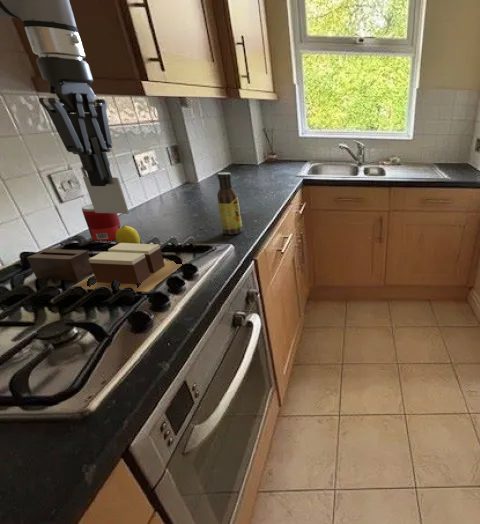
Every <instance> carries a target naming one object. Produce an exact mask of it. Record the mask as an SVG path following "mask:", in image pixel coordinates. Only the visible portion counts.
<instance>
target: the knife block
mask: <svg viewBox="0 0 480 524" xmlns="http://www.w3.org/2000/svg"><path fill="white" fill-rule="evenodd" d="M90 258H91V257H90V253H89V252H88V250H83V249H82V250H80V249H61V248H60V249H59V248H58V249H56V248H45V249H43V250H40V251H39V252H37V253H34V254H32V255H29V256H27V257H26V259H27V261H28V263H29V265H30V268H31V270H32V272H33V274H34V276H35V279H37V280H54V281H56V280H57V281H76V282H78V281H80V280H83V278H84V279H85V277H88V276H89V275H91V274H93V270H92V267H91V265H90V262H89V259H90Z"/></svg>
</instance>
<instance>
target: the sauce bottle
mask: <svg viewBox="0 0 480 524" xmlns="http://www.w3.org/2000/svg"><path fill="white" fill-rule="evenodd" d="M216 176H217V179H218V184H219V189H218V191H217V195H216V197H217V204H218V210H219V216H220V223H221V228H222V232H223V234H225V235H231V236H232V235H237V234H240V233H242V231H243V222H242V217H241V209H240V204H239V196H238V193H237V192H236V190H235V189H234V188H233V184H232V173H231V172H226V171H225V172H217V173H216Z"/></svg>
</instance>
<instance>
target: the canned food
mask: <svg viewBox="0 0 480 524" xmlns="http://www.w3.org/2000/svg"><path fill="white" fill-rule="evenodd" d="M81 211H82V215H83V217H84V220H85V224H86V226H87V228H88V231H89V234H90V236H91V240H92V239H93V240H94V241H100V240H102V241H107V242H108V241H111V240H115V241H116V232H117V230H118V229H119V228H121V227H122V224H121V221H120V218H119V215H118V213H95V210H94V208H93V205H92V203H90V204H86V205H83V206H82V207H81ZM93 240H92V241H93ZM94 241H93V242H94Z"/></svg>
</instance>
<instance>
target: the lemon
mask: <svg viewBox="0 0 480 524" xmlns="http://www.w3.org/2000/svg"><path fill="white" fill-rule="evenodd" d="M115 241H116V244H119V243H137V244H141V238H140V234H139V232H138V231H137V229H135V228H134V227H131V226H130V225H129V226H127V225H125V224H124V225H121V228H119V229H118V230H117V232H116V240H115Z"/></svg>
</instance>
